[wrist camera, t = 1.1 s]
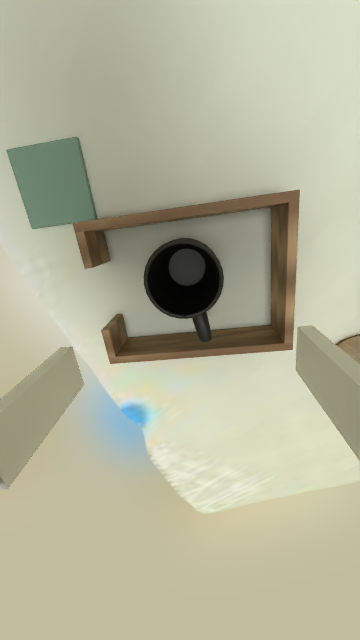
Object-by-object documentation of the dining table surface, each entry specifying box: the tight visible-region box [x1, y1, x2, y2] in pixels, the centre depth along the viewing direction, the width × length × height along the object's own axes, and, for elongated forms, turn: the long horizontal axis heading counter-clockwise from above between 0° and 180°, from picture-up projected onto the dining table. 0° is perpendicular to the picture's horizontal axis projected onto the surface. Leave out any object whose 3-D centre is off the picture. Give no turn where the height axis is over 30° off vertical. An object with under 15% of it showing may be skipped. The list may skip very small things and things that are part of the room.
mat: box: [7, 137, 97, 229], centre depth 30 cm, size 9×9×1 cm
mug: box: [144, 238, 224, 343], centre depth 29 cm, size 8×12×10 cm
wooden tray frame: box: [73, 190, 300, 364], centre depth 31 cm, size 18×24×6 cm
